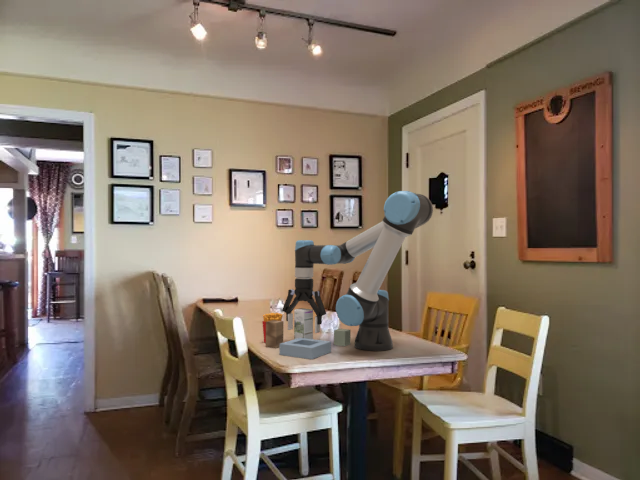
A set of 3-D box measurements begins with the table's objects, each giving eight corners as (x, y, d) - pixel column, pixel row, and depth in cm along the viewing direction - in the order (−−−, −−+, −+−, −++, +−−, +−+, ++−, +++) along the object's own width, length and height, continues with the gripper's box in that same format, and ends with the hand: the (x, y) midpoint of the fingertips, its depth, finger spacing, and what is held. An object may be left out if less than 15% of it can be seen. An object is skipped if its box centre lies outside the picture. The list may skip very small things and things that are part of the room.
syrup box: (313, 344, 196) (313, 309, 196) (303, 346, 192) (303, 310, 192) (303, 342, 200) (303, 307, 200) (293, 344, 195) (293, 309, 196)
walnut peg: (283, 346, 193) (283, 321, 193) (276, 348, 189) (276, 322, 189) (273, 344, 195) (273, 320, 196) (265, 347, 191) (265, 321, 191)
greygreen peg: (350, 344, 198) (350, 329, 198) (344, 346, 194) (344, 331, 194) (339, 343, 200) (339, 328, 201) (333, 345, 196) (334, 330, 196)
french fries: (264, 343, 197) (265, 314, 197) (261, 342, 201) (261, 313, 201) (283, 341, 201) (283, 313, 201) (279, 340, 205) (280, 312, 205)
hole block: (331, 352, 183) (331, 341, 183) (312, 359, 170) (312, 348, 171) (299, 347, 190) (299, 337, 190) (279, 354, 177) (279, 343, 178)
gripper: (335, 278, 193) (334, 332, 193) (284, 276, 206) (283, 326, 205) (325, 279, 187) (325, 335, 187) (274, 277, 199) (273, 329, 199)
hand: (303, 331), depth 196 cm, fingers open, 12 cm apart
